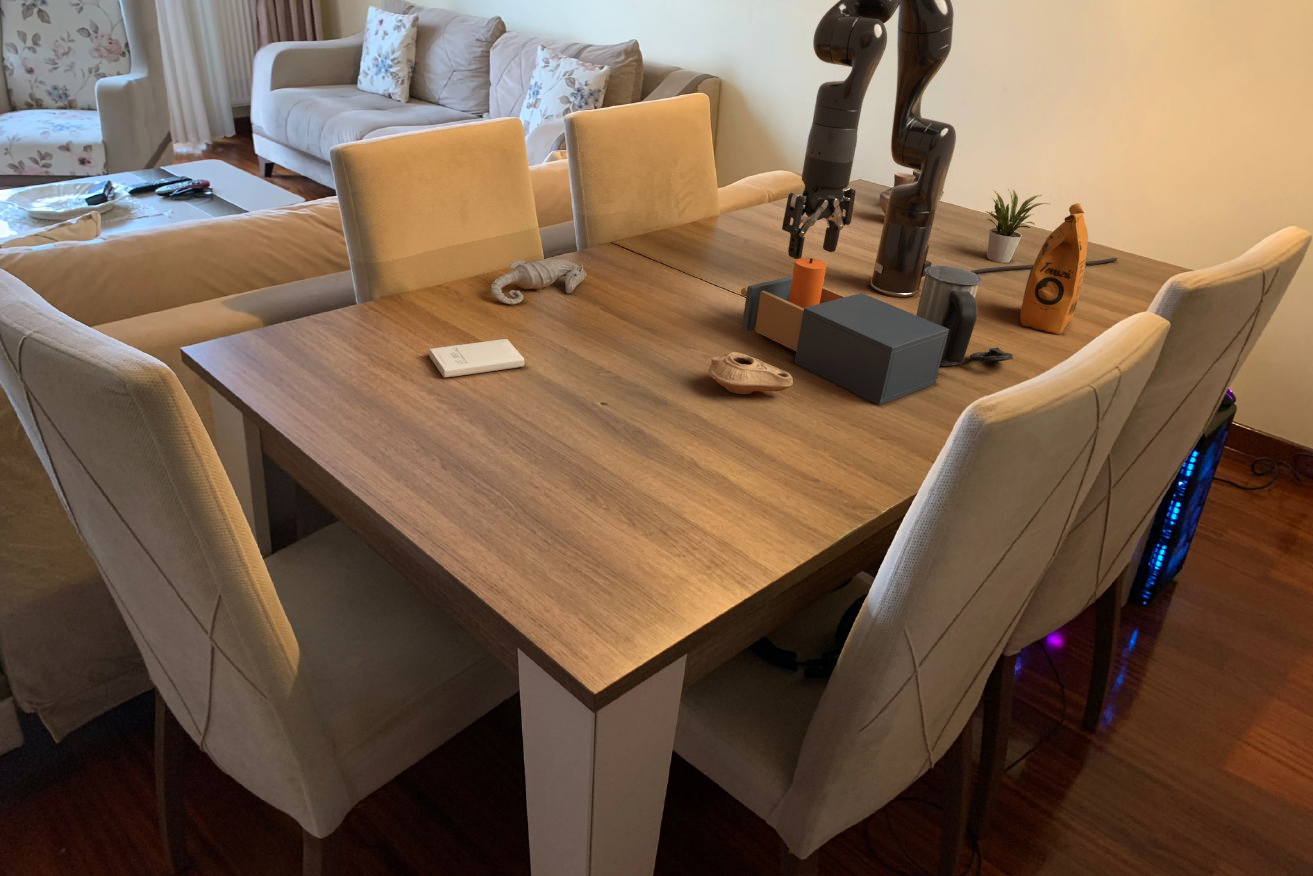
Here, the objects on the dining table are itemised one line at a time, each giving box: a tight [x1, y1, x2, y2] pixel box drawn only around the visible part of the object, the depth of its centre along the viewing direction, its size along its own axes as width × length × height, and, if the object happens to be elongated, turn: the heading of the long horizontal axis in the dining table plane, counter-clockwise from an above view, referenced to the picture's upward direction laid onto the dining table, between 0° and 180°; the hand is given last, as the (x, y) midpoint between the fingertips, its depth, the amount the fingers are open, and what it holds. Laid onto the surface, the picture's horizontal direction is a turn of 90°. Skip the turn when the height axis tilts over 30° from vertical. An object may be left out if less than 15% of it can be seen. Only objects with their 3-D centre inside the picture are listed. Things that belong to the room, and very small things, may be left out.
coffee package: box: [1019, 203, 1089, 335], centre depth 172 cm, size 10×12×22 cm
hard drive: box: [428, 338, 525, 379], centre depth 140 cm, size 2×8×12 cm
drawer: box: [740, 275, 848, 352], centre depth 157 cm, size 21×13×8 cm, turn 40°
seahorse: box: [489, 257, 588, 306], centre depth 167 cm, size 5×12×20 cm
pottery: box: [879, 169, 945, 221], centre depth 233 cm, size 11×25×12 cm, turn 145°
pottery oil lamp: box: [708, 351, 794, 395], centre depth 138 cm, size 9×12×7 cm
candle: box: [788, 257, 827, 308], centre depth 154 cm, size 5×5×13 cm
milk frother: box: [915, 265, 1014, 367], centre depth 153 cm, size 14×16×15 cm
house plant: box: [984, 187, 1050, 264], centre depth 207 cm, size 14×14×16 cm
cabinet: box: [794, 292, 949, 406], centre depth 147 cm, size 18×15×10 cm
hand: (812, 254), depth 151 cm, fingers open, 8 cm apart
